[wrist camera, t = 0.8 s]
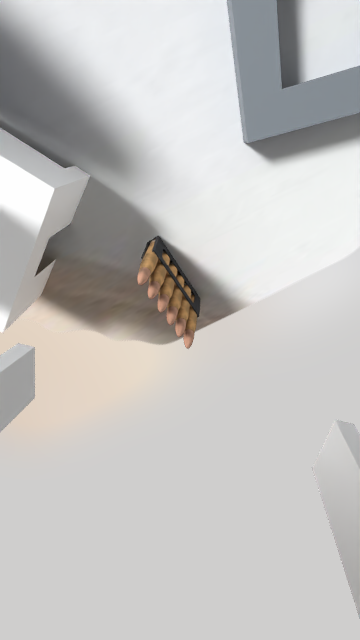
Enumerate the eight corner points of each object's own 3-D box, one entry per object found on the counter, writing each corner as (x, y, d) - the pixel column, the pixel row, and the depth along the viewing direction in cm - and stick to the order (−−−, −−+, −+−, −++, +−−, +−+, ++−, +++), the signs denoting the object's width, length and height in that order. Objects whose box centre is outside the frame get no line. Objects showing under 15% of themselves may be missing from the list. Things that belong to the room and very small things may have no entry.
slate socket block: (217, -78, 25) (219, -107, 22) (437, -169, 22) (473, -216, 19) (243, 142, 33) (247, 143, 30) (407, 97, 30) (430, 93, 27)
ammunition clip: (200, 299, 43) (199, 350, 33) (189, 305, 44) (185, 357, 33) (158, 235, 39) (141, 271, 28) (146, 242, 39) (126, 280, 29)
